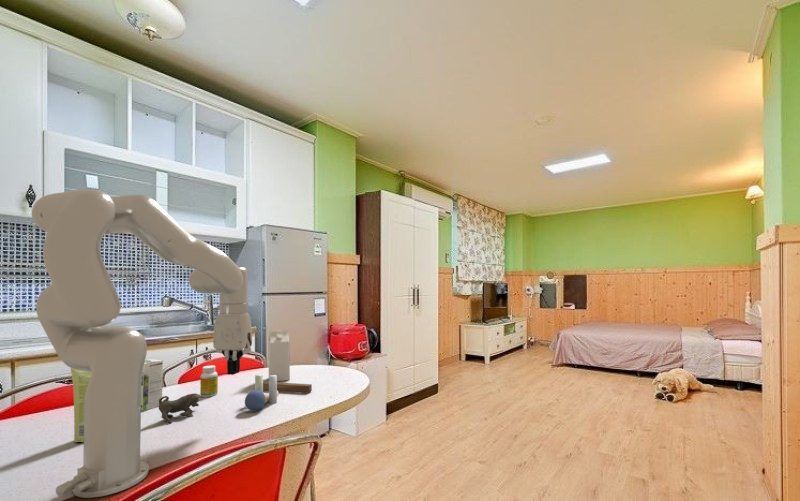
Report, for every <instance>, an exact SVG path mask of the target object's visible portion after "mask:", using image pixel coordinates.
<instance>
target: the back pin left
mask: <svg viewBox="0 0 800 501" xmlns="http://www.w3.org/2000/svg"><path fill="white" fill-rule="evenodd" d="M263 382H264V374H261V373H259V374H255V376H254V383H255V384H254V390H259V391H261V392H263V393H264V390H263Z"/></svg>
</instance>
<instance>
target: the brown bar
mask: <svg viewBox="0 0 800 501" xmlns="http://www.w3.org/2000/svg"><path fill="white" fill-rule="evenodd" d="M277 390H278V392H282V393H296V392H301V393H300V394H310V393H312V392H311V391H313V390H312V383H296V382H295V383H293V382H281V381H277ZM263 391H266V392H267V391H268V392H269V381H263Z"/></svg>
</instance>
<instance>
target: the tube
mask: <svg viewBox="0 0 800 501" xmlns="http://www.w3.org/2000/svg"><path fill="white" fill-rule="evenodd" d="M70 372H71V379H72V380H71V381H72V392H73V394H72V395H73V418H74V419H73V420H74V421H73V423H74V425H73V426H74V428H73V429H74V431H73V432H74V434H73V436H74V438H73V440H74V442H75V443H76V442H82V443H84V400H85V393H86V389H87V387H88V384H89V382H90V379H91V376H92V372H91V371H82V370H77V369H73V368H71V367H70Z"/></svg>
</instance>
